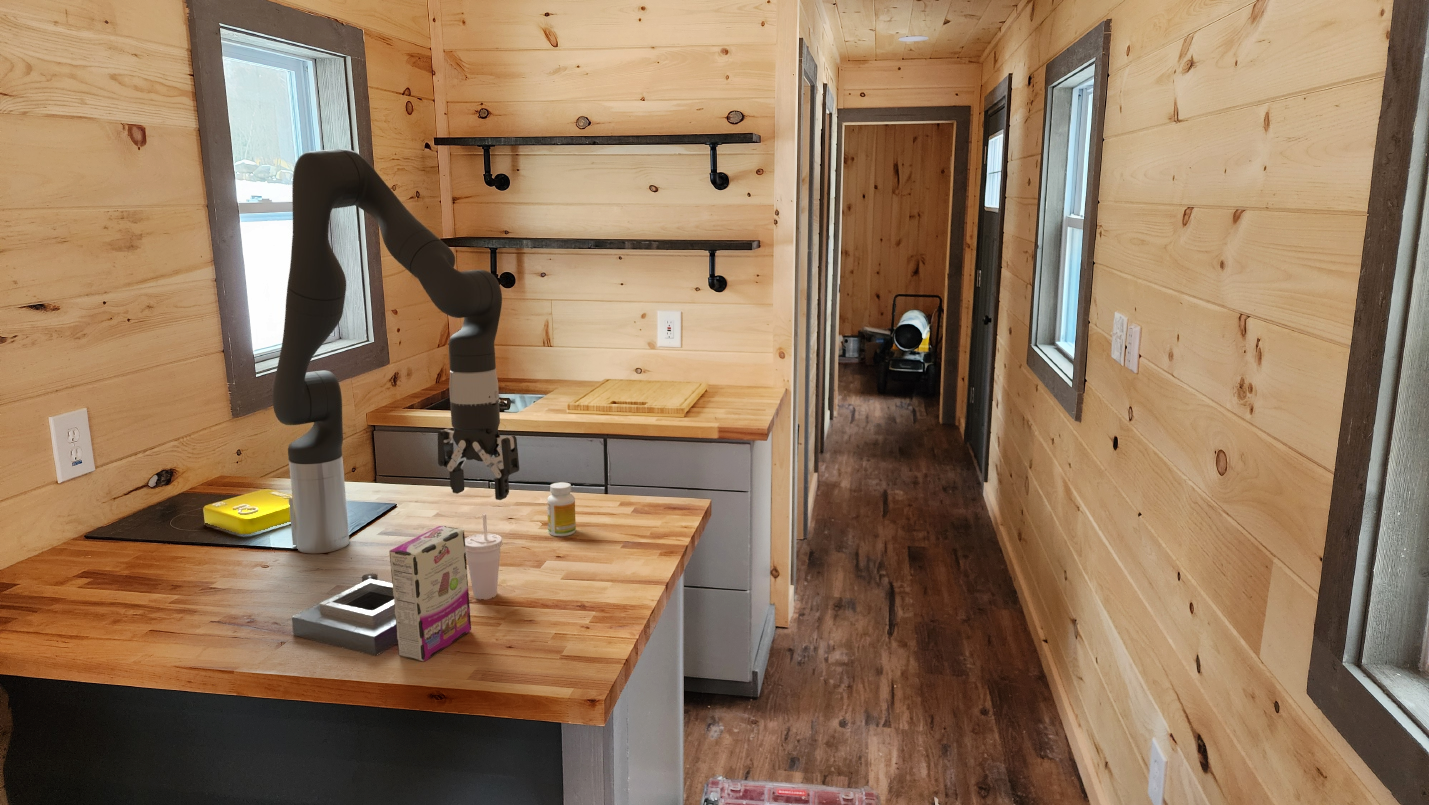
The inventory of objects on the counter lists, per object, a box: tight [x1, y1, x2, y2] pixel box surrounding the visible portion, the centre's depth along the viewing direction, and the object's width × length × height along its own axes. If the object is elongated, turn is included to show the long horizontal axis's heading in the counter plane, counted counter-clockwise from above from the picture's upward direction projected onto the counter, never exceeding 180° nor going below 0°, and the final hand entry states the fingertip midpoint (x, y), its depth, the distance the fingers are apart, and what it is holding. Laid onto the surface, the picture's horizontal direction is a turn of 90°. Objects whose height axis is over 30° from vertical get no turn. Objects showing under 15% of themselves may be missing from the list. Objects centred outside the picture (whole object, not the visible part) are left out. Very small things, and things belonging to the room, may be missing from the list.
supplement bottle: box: [546, 481, 577, 537], centre depth 185 cm, size 5×5×10 cm
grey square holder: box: [291, 572, 398, 657], centre depth 145 cm, size 16×16×4 cm
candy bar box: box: [388, 525, 472, 662], centre depth 138 cm, size 11×5×16 cm, turn 157°
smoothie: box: [465, 513, 504, 600], centre depth 155 cm, size 6×6×14 cm
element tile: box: [202, 488, 292, 534], centre depth 191 cm, size 15×15×5 cm
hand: (479, 495), depth 153 cm, fingers open, 8 cm apart
